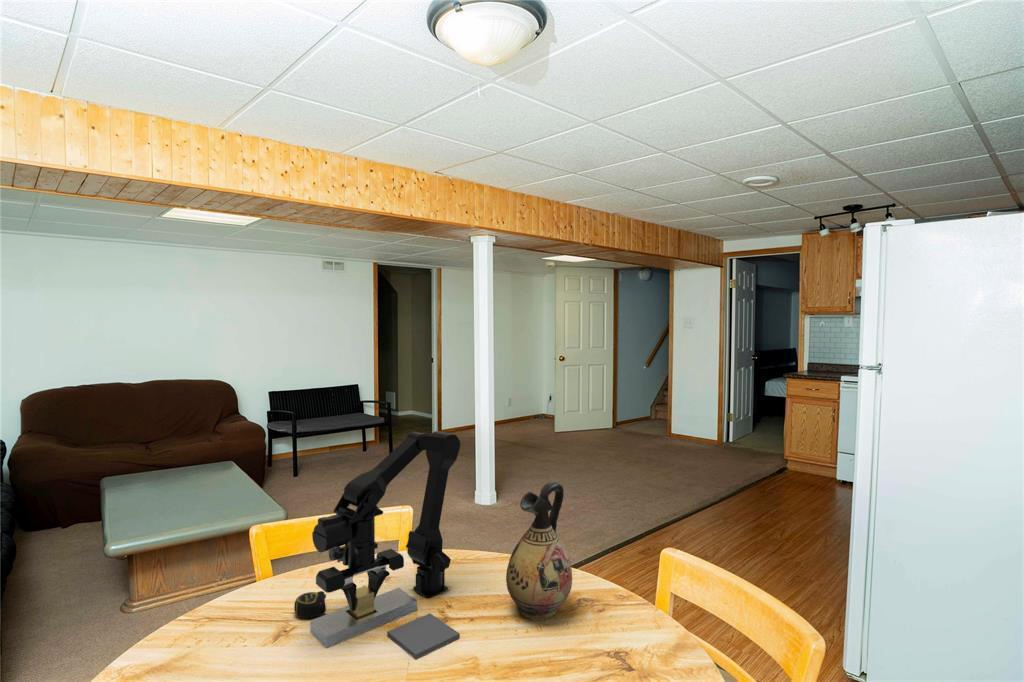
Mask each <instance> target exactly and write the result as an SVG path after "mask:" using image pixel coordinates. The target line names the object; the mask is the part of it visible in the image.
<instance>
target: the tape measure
mask: <svg viewBox="0 0 1024 682" xmlns="http://www.w3.org/2000/svg"><path fill="white" fill-rule="evenodd" d="M325 593H326V592H325V591H324V590H320V591H319V590H318V591H317V592H316V591H310V592H306V593H305V592H304V593H302V594H300V595H299V596H297V597H296V598H295V600H294V606H293V607H294V613H295V614H296V616H297V617H298V618H302V619H310V618H314V617H317V616H318V617H319V616H321V615H322V616H323V615H324V614H325V613H326V608H327V605H326V598H327V594H325Z"/></svg>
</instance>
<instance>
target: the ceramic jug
mask: <svg viewBox="0 0 1024 682" xmlns="http://www.w3.org/2000/svg"><path fill="white" fill-rule="evenodd" d="M553 492H554V499H553V502H552V503H551V501H550V500H549V496H550V495H551V494H552V493H553ZM564 494H565V493H564V486H563V485H562V484H560V483H559V482H556V481H553V482H548V483H546V484H545V485H543V487H542V488H541V490H540V493H539V495H536V494H535V493H533V492H532V491H527V493H525V494H524V495H523V496H522V497H521V500H520V503H519V506H520V509H521V511H523V512H526V513H530V514H533V515H534V516H535V517H534V520H533V521H532V523H531V525H530V526H529V528H527V530H526V531H525V533H523V535H522V537H521V538H520V539H519V541H518V543H517V544H516V545H515V547H514V548H513V550H512V552H511V554H510V558H509V561H508V565H507V569H506V575H505V583H506V587H507V588H506V589H507V592H508V594H509V596H510V598H511V599H512V600H513V602H514V603H515V605H516V606H517V612H518V611H519V612H518V613H519V615H520V614H521V615H520V616H521V617H524V618H527V619H529V618H530V620H533V619H539V620H538V621H541V619H544V620H546V619H550V618H552V617H554V616H553V615H556V614H557V612H558V609H559V607H560V606H561V605H562V604H563V603H564V602H565V601H566V600H567V599H568V596H569V595H570V593H571V590H572V588H573V587H572V586H573V571H572V564H571V561H570V560H571V559H570V558H569V553H568V552H567V550H566V548H565V546H564V544H563V542H562V541H561V540H560V537H559V536H558V534H557V526H558V525H557V524H558V523H557V522H558V519H559V514H560V513H561V512H560V511H561V507H562V505H563V501H564V497H565V496H564ZM549 511H550V512H549Z"/></svg>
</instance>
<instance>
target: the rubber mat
mask: <svg viewBox="0 0 1024 682" xmlns="http://www.w3.org/2000/svg"><path fill="white" fill-rule="evenodd" d="M460 636H461V635H460V632H458V631H457V630H456V629H454V628H452V627H451V626H449V625H448V624H446V623H445V622H444V621H443V620H441V619H439V618H438V617H437V616H435V615H434V614H432V613H427V614H425V615H422V616H420V617H418V618H415V619H413V620H410V621H408V622H406V623H403V624H402V625H401V624H400V626H397V627H394V628H392V629H390V630H387V631H386V637H388V638H389V639H390V640H391V641H392V642H394V643H395V644H396V645H398V647H400V648H401V649H402V650H404V651H405V652H406V653H408V655H410V656H411V657H412V658H413V659H414V660H417V659H420V658H422V657H423V656H426V655H428V654H430V653H432V652H434V651H436V650H438V649H441V648H442V647H444V646H446V645H449V644H450V643H452V642H455V641H456V640H459V639H460Z"/></svg>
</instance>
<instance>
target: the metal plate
mask: <svg viewBox="0 0 1024 682" xmlns="http://www.w3.org/2000/svg"><path fill="white" fill-rule="evenodd" d="M414 612H418V599H416V598H415V597H413V596H412V595H410V594H409V593H408V592H406V591H405V590H403V589H402V588H400V587H397V588H394V589H392V590H389V591H386V592H384V593H380V594H377V595H376V597H375V599H374V614H371V615H369V616H366V617H364V618H361V619H359V620H355V619H354V618H353V617H352V616H350V615H349V605H348V606H347V607H344V608H343V607H342V608H341V609H337V610H335V611H333V612H330V613H327V614H325V615H324V614H323V615H322V616H321V615H320V617H319V616H318V617H316V618H314V619H310V620H309V623H310V624H309V627H310V628H309V632H310V634H312V636H313V637H314V638H315V639H316V640H318V641H319V643H320V644H321V645H323V646H324V648H326V649H327V648H330V647H333V646H335V645H337V644H340V643H342V642H344V641H347V640H350V639H353V638H355V637H358V636H359V635H362V634H364V633H366V632H367V633H368V632H369V631H371V630H374V629H376V628H378V627H381V626H384V625H386V624H388V623H391V622H392V621H393V622H394V621H395V620H398V619H400V618H402V617H405V616H407V615H410V614H412V613H414Z"/></svg>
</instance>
